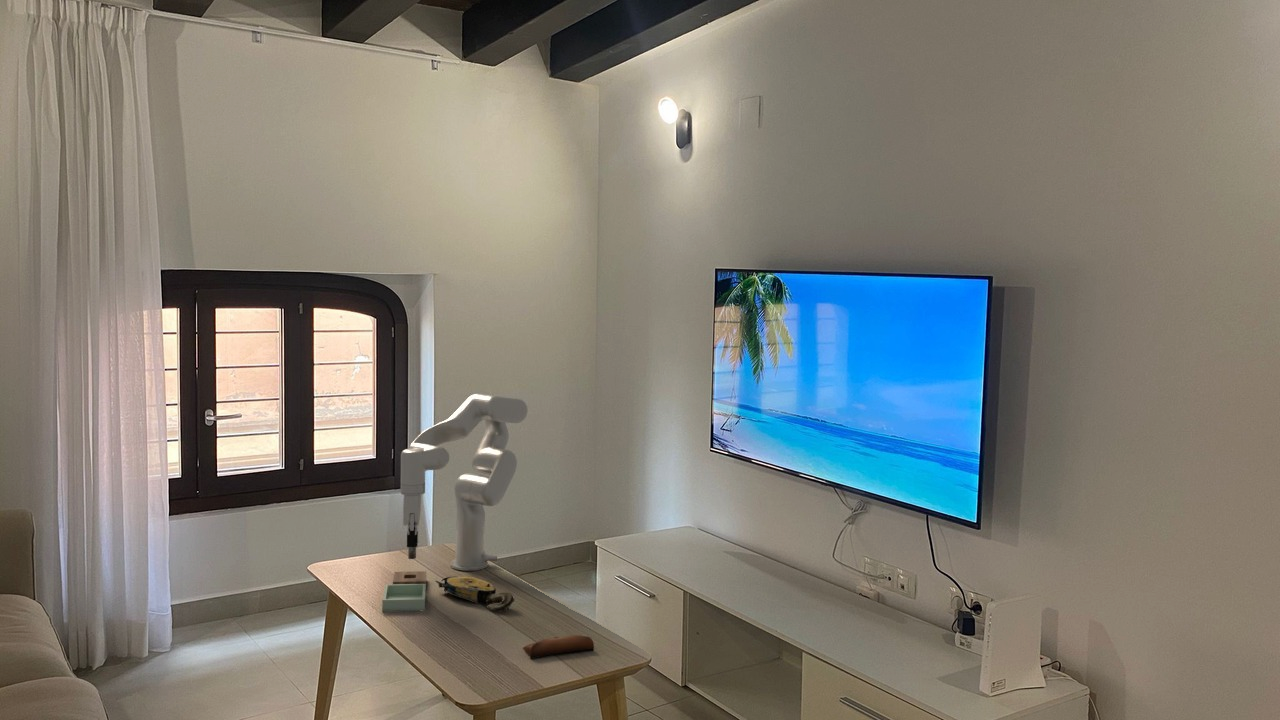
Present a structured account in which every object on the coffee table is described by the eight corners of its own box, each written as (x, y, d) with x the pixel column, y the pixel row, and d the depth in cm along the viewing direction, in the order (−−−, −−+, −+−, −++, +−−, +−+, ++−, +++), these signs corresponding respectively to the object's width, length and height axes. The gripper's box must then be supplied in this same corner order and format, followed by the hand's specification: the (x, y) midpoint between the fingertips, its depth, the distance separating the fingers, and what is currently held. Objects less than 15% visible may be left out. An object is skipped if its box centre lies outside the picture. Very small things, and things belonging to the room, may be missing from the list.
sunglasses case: (582, 639, 263) (587, 623, 260) (590, 660, 258) (596, 644, 254) (520, 647, 255) (525, 631, 252) (527, 669, 250) (532, 653, 247)
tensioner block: (426, 580, 307) (426, 571, 306) (425, 590, 297) (425, 581, 297) (394, 580, 304) (394, 571, 304) (392, 591, 295) (392, 581, 294)
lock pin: (416, 556, 302) (416, 532, 301) (415, 559, 300) (416, 534, 299) (408, 556, 301) (408, 532, 301) (408, 559, 299) (408, 534, 298)
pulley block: (490, 596, 275) (434, 571, 297) (486, 616, 275) (431, 589, 297) (528, 594, 285) (471, 570, 307) (525, 614, 285) (468, 587, 307)
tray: (425, 594, 293) (425, 583, 293) (424, 610, 279) (424, 599, 279) (385, 595, 290) (385, 584, 290) (382, 611, 277) (382, 600, 276)
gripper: (401, 482, 305) (401, 538, 307) (399, 494, 289) (398, 553, 291) (425, 482, 307) (425, 537, 309) (424, 494, 291) (423, 553, 293)
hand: (412, 544), depth 300 cm, fingers closed on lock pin, 2 cm apart
